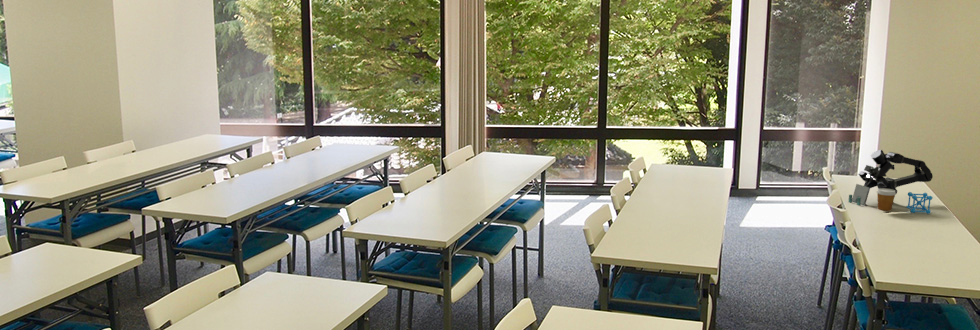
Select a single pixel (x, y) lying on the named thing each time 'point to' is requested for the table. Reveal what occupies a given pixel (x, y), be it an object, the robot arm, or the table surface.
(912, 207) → the molecular structure
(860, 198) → the tablet stand
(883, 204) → the disposable coffee cup
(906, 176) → the robot arm
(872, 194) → the table surface
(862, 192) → the grey square plate
